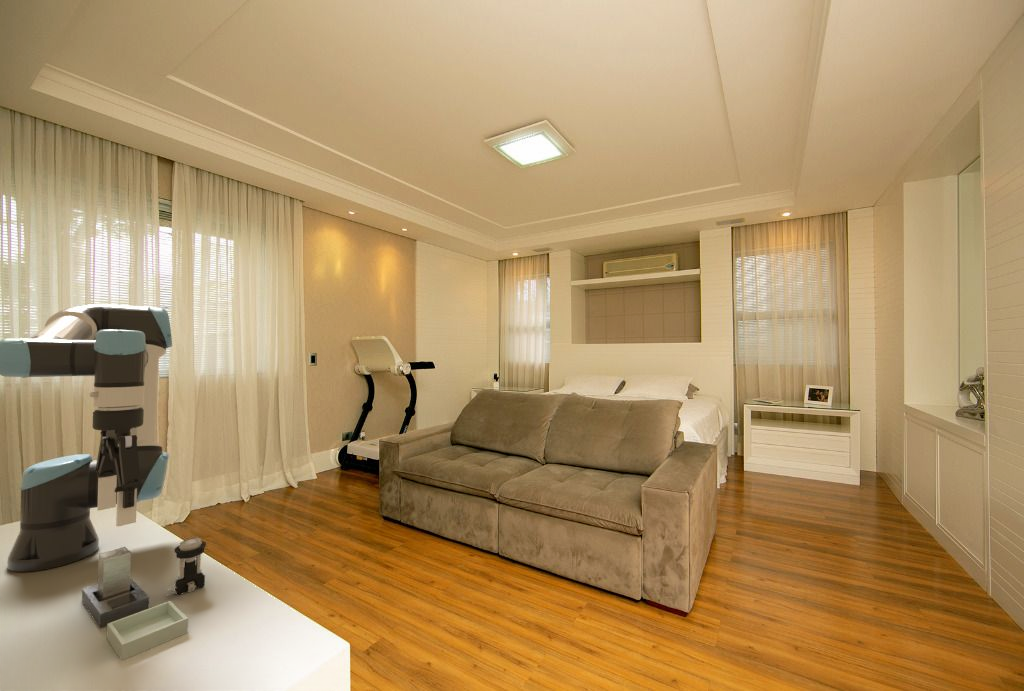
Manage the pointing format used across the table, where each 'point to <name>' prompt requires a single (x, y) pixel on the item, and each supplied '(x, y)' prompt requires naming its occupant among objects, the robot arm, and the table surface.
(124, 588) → the block
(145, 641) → the parts tray
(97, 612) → the dark gray slotted holder
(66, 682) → the table surface
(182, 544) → the push button
